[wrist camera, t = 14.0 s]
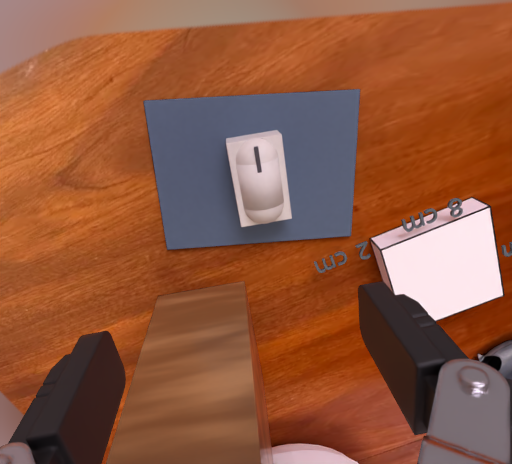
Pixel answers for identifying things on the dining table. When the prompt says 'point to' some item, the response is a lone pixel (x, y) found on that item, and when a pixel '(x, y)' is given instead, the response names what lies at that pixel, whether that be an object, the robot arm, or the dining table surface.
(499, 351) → the electronic device
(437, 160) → the dining table surface
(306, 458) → the bowl
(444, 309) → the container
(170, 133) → the mouse pad
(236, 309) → the block
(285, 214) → the white boxy piece
